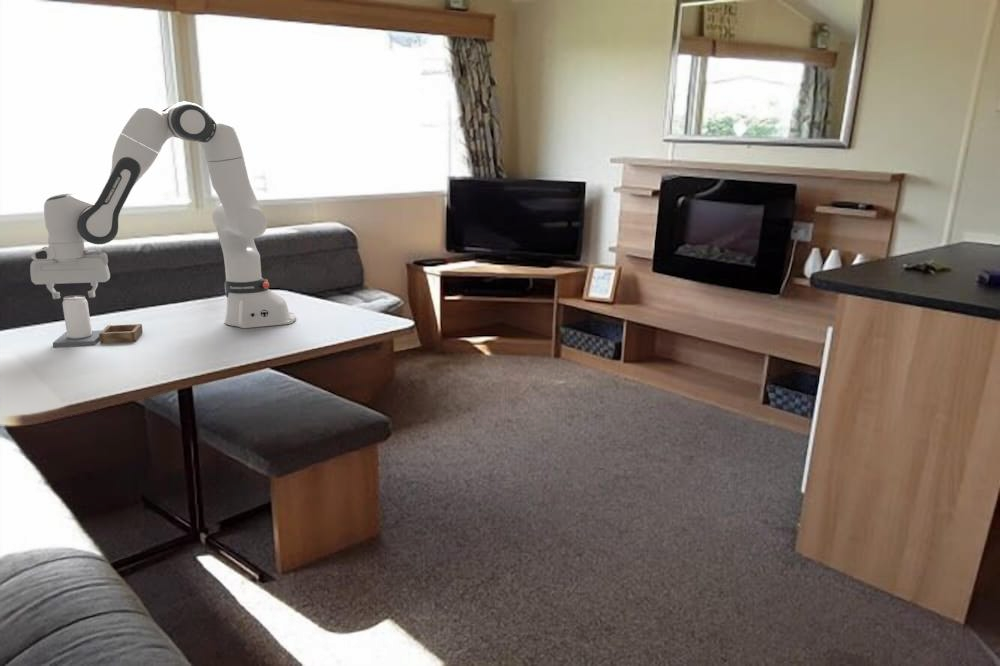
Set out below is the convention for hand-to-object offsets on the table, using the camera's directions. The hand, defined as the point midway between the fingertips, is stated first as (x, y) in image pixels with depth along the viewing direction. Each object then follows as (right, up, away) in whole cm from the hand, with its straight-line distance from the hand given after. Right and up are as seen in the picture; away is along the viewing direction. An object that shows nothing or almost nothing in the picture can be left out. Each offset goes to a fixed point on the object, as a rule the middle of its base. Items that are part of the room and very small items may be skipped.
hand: (74, 297), depth 217 cm
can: (0, -12, +3) cm, 12 cm away
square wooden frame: (+11, -12, +6) cm, 17 cm away
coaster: (0, -13, +3) cm, 13 cm away
